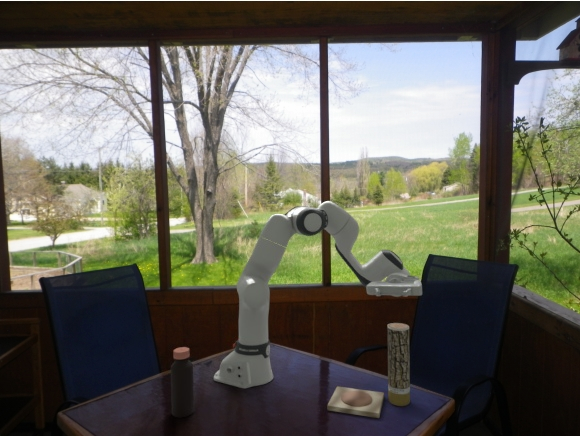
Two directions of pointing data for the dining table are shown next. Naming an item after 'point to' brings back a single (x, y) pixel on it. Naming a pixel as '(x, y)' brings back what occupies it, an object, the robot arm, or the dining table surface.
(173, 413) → the bottle
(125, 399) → the dining table surface
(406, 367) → the bark print tube
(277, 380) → the dining table surface
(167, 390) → the dining table surface
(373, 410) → the holder board
